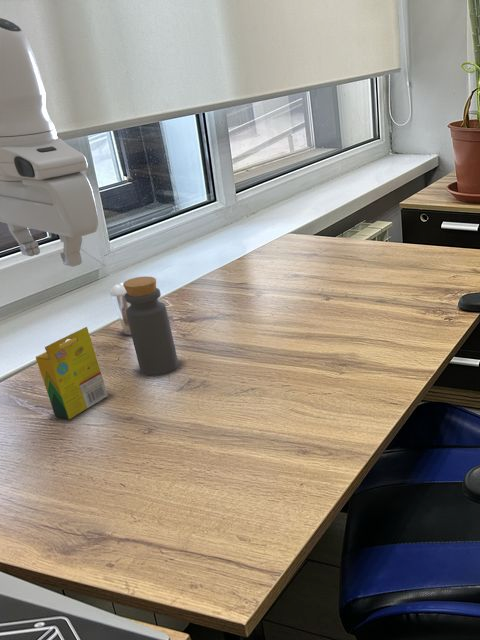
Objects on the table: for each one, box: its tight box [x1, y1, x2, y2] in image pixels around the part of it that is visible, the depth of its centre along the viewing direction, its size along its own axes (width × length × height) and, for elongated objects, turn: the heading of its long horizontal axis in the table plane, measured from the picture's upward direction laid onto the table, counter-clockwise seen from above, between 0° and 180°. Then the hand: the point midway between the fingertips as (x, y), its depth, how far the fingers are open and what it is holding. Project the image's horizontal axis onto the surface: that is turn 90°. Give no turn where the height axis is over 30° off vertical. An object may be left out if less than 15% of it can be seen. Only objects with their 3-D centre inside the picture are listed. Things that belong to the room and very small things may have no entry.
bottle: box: [122, 276, 179, 377], centre depth 112 cm, size 6×6×15 cm
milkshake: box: [109, 282, 132, 336], centre depth 127 cm, size 5×5×10 cm
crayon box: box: [35, 326, 109, 420], centre depth 102 cm, size 7×3×12 cm, turn 159°
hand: (52, 259), depth 96 cm, fingers open, 8 cm apart
